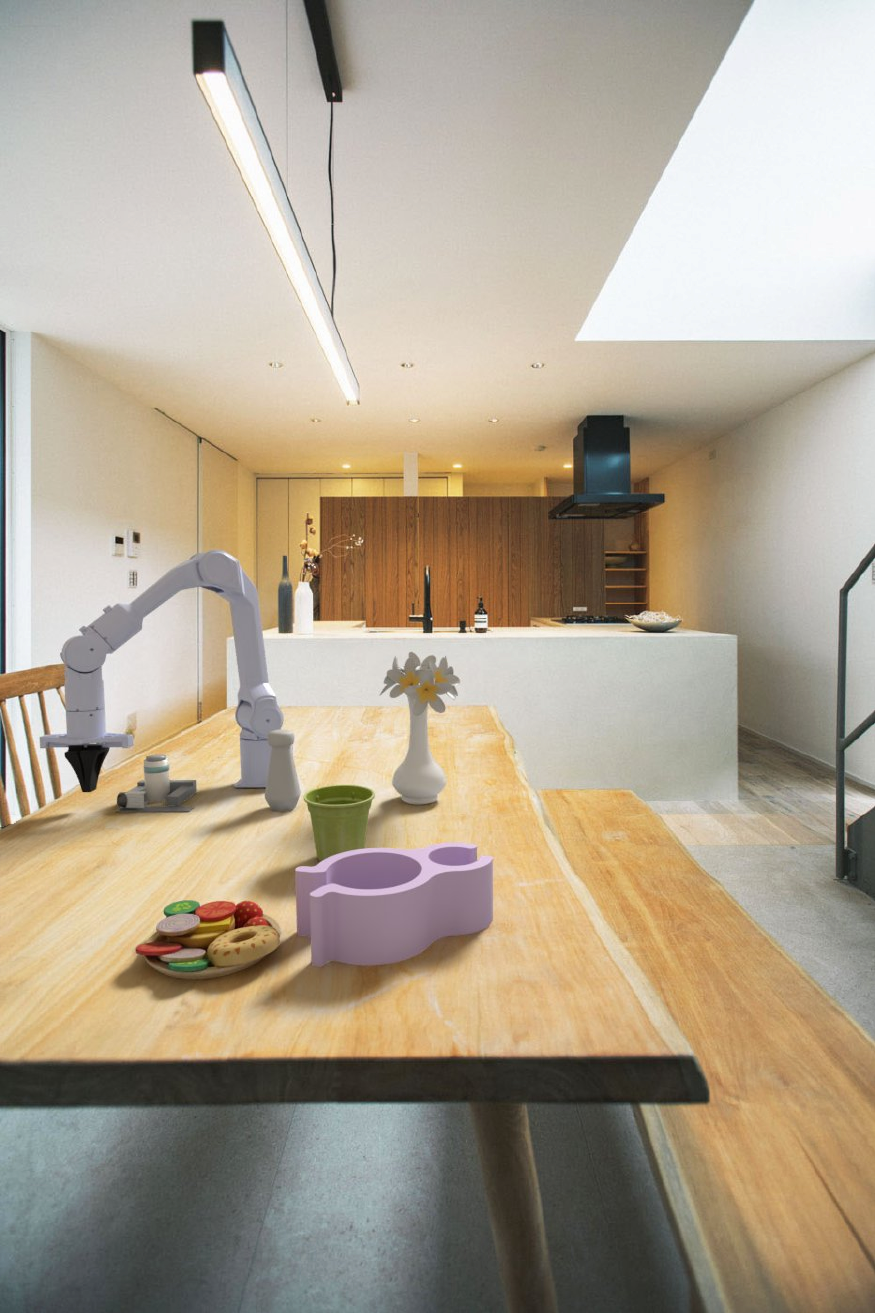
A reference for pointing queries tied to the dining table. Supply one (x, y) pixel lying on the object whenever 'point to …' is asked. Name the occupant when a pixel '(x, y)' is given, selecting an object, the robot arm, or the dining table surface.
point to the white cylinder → (156, 777)
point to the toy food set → (210, 939)
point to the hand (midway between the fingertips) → (89, 790)
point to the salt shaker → (282, 773)
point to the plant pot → (339, 817)
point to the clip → (392, 901)
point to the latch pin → (132, 799)
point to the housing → (168, 797)
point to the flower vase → (420, 724)
